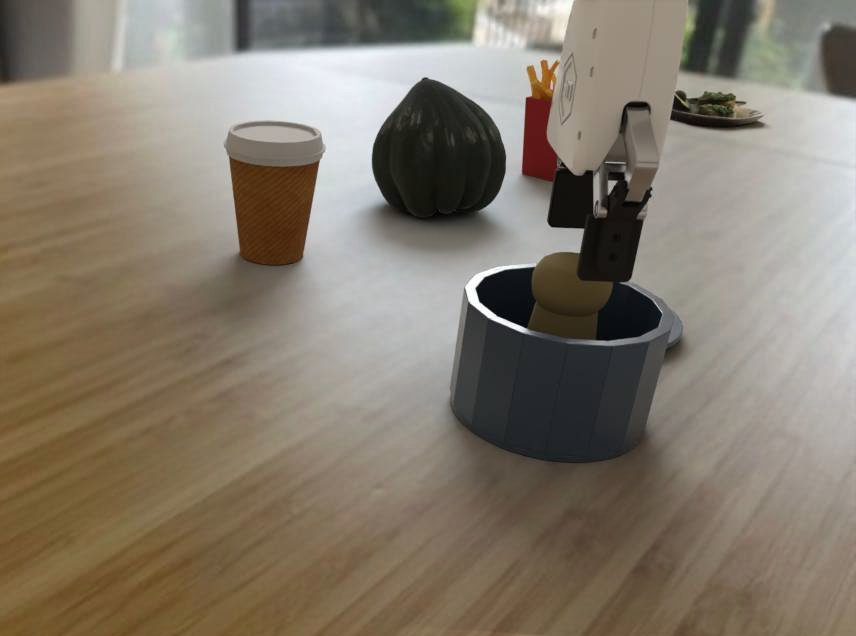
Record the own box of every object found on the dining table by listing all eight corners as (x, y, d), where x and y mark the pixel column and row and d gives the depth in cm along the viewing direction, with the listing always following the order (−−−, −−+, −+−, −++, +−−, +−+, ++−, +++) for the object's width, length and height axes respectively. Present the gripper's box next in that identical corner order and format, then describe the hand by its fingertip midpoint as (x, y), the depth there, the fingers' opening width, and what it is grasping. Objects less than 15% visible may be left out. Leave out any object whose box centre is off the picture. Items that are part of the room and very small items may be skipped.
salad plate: (708, 102, 173) (714, 77, 171) (786, 123, 159) (794, 96, 157) (632, 107, 165) (637, 81, 163) (707, 130, 151) (715, 101, 149)
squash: (530, 187, 95) (509, 59, 98) (392, 193, 93) (375, 61, 96) (488, 238, 109) (471, 125, 112) (366, 244, 107) (352, 128, 110)
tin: (616, 372, 71) (641, 270, 66) (669, 469, 59) (703, 352, 55) (442, 360, 71) (456, 258, 67) (459, 455, 59) (477, 337, 55)
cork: (608, 412, 64) (643, 265, 59) (549, 434, 61) (581, 281, 55) (545, 376, 68) (572, 237, 63) (486, 395, 65) (510, 250, 60)
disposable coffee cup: (299, 278, 84) (305, 149, 78) (206, 260, 87) (205, 134, 81) (332, 247, 92) (340, 127, 86) (247, 231, 95) (249, 114, 89)
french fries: (556, 184, 117) (578, 62, 110) (501, 170, 122) (519, 53, 115) (588, 173, 123) (611, 57, 116) (535, 160, 128) (554, 47, 120)
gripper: (543, -50, 58) (508, 208, 67) (608, -28, 43) (552, 302, 52) (660, -46, 58) (610, 212, 66) (766, -22, 43) (684, 307, 51)
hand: (585, 251), depth 59 cm, fingers open, 9 cm apart
